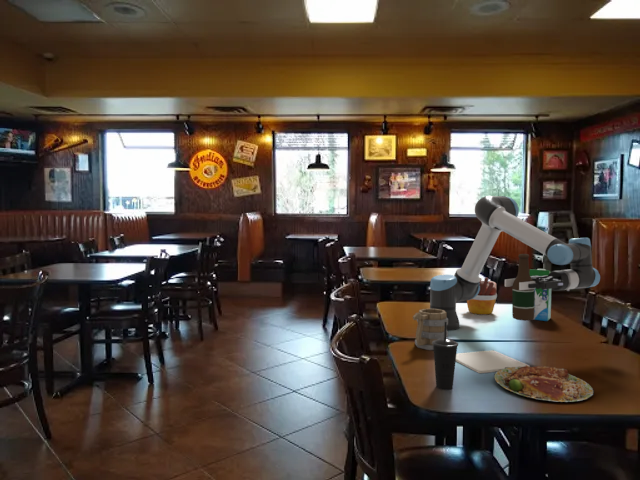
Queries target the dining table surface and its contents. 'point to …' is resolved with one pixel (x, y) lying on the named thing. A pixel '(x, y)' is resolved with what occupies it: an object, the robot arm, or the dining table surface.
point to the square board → (487, 361)
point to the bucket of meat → (483, 298)
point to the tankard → (429, 327)
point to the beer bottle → (523, 292)
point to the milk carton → (542, 298)
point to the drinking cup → (444, 360)
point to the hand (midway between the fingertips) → (512, 284)
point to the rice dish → (544, 383)
